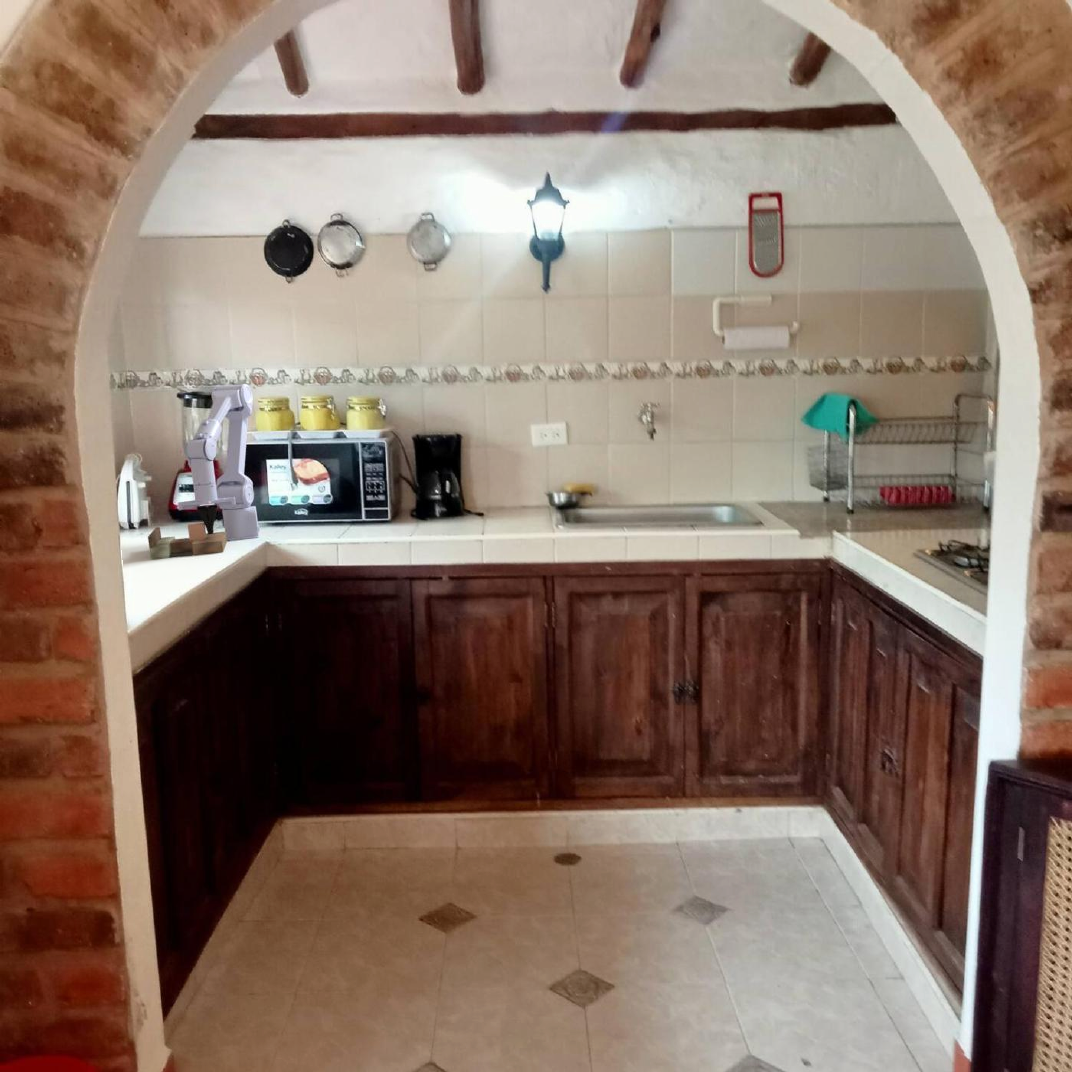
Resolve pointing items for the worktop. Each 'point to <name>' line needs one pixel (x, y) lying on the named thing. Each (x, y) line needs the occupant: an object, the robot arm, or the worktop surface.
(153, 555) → the board
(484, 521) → the worktop surface
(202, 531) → the block
